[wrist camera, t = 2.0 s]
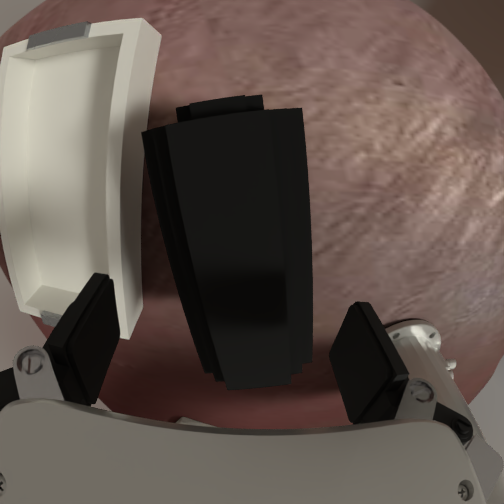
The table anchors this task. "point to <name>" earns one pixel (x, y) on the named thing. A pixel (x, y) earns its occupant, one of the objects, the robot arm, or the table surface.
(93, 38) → the cradle
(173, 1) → the table surface
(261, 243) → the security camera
